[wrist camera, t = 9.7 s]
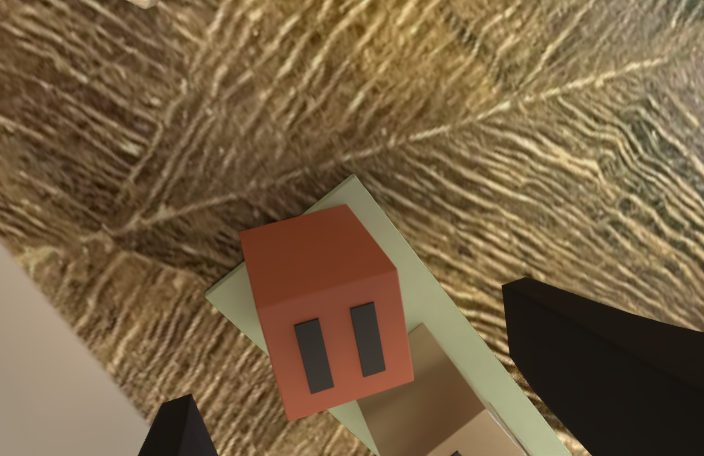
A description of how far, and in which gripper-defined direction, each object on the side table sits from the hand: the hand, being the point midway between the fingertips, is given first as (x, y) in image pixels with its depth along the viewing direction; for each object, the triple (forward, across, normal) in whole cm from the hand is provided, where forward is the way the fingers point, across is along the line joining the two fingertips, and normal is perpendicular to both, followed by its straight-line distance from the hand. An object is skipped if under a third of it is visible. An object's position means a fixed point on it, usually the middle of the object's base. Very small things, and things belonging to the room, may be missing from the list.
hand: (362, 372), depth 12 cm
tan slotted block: (+9, -3, +8) cm, 13 cm away
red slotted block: (+9, 0, +2) cm, 9 cm away
